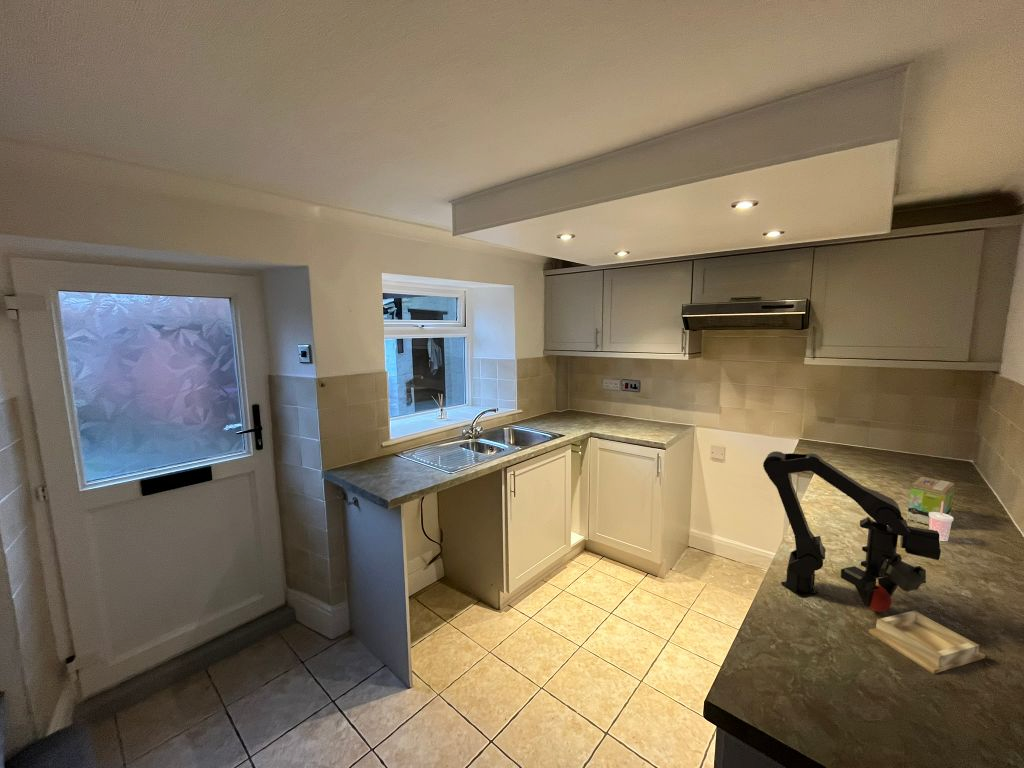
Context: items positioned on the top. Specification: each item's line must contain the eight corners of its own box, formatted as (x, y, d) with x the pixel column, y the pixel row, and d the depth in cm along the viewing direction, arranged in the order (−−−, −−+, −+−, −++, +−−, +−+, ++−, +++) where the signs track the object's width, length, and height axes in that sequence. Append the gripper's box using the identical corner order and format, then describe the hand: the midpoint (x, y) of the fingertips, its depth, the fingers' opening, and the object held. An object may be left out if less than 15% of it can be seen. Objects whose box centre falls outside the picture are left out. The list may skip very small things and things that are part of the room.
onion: (876, 603, 114) (879, 575, 113) (896, 618, 109) (899, 588, 108) (855, 604, 114) (857, 576, 113) (873, 618, 108) (876, 589, 107)
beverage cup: (955, 545, 145) (960, 505, 143) (934, 543, 146) (938, 504, 144) (941, 536, 151) (946, 498, 149) (921, 535, 152) (925, 497, 150)
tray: (933, 673, 91) (935, 659, 91) (868, 632, 104) (870, 620, 103) (984, 658, 95) (986, 644, 95) (916, 620, 108) (917, 608, 107)
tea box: (942, 530, 156) (947, 490, 154) (905, 520, 164) (909, 483, 162) (951, 519, 165) (955, 482, 163) (915, 510, 173) (919, 475, 171)
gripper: (889, 569, 99) (883, 631, 101) (946, 557, 104) (939, 617, 106) (841, 546, 110) (836, 603, 112) (894, 536, 115) (889, 591, 117)
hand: (875, 603), depth 111 cm, fingers closed on onion, 6 cm apart
